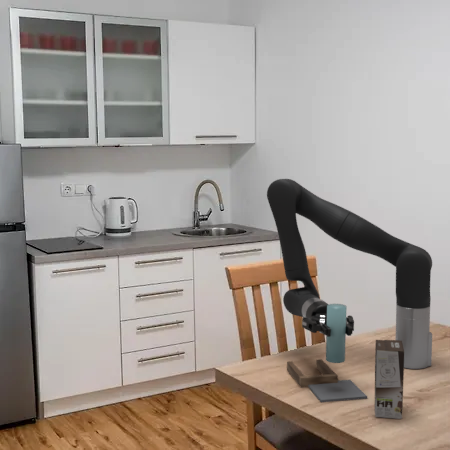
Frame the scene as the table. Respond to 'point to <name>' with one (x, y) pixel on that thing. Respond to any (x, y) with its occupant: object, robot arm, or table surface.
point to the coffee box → (389, 378)
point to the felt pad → (337, 391)
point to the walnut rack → (304, 381)
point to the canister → (336, 333)
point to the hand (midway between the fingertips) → (339, 332)
